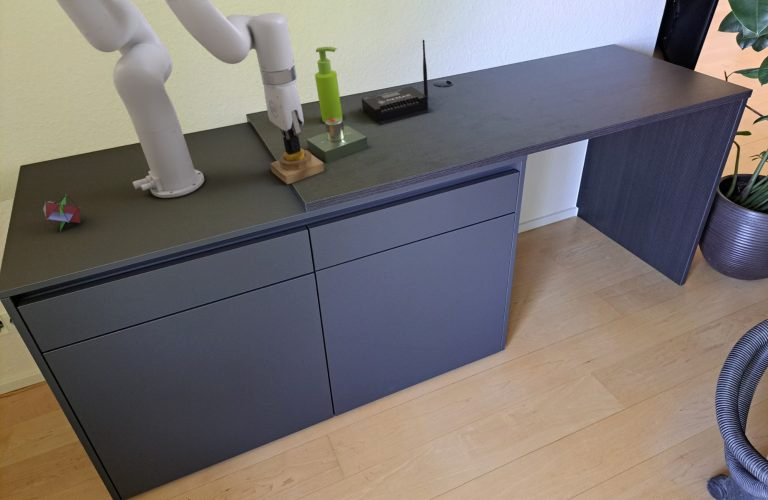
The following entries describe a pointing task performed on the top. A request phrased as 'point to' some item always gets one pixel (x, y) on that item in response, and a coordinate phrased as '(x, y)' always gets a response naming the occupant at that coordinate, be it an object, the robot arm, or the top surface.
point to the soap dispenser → (327, 87)
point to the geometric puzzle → (62, 212)
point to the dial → (334, 129)
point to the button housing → (296, 168)
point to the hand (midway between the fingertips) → (293, 151)
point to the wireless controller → (398, 102)
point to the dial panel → (337, 145)
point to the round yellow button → (295, 156)
